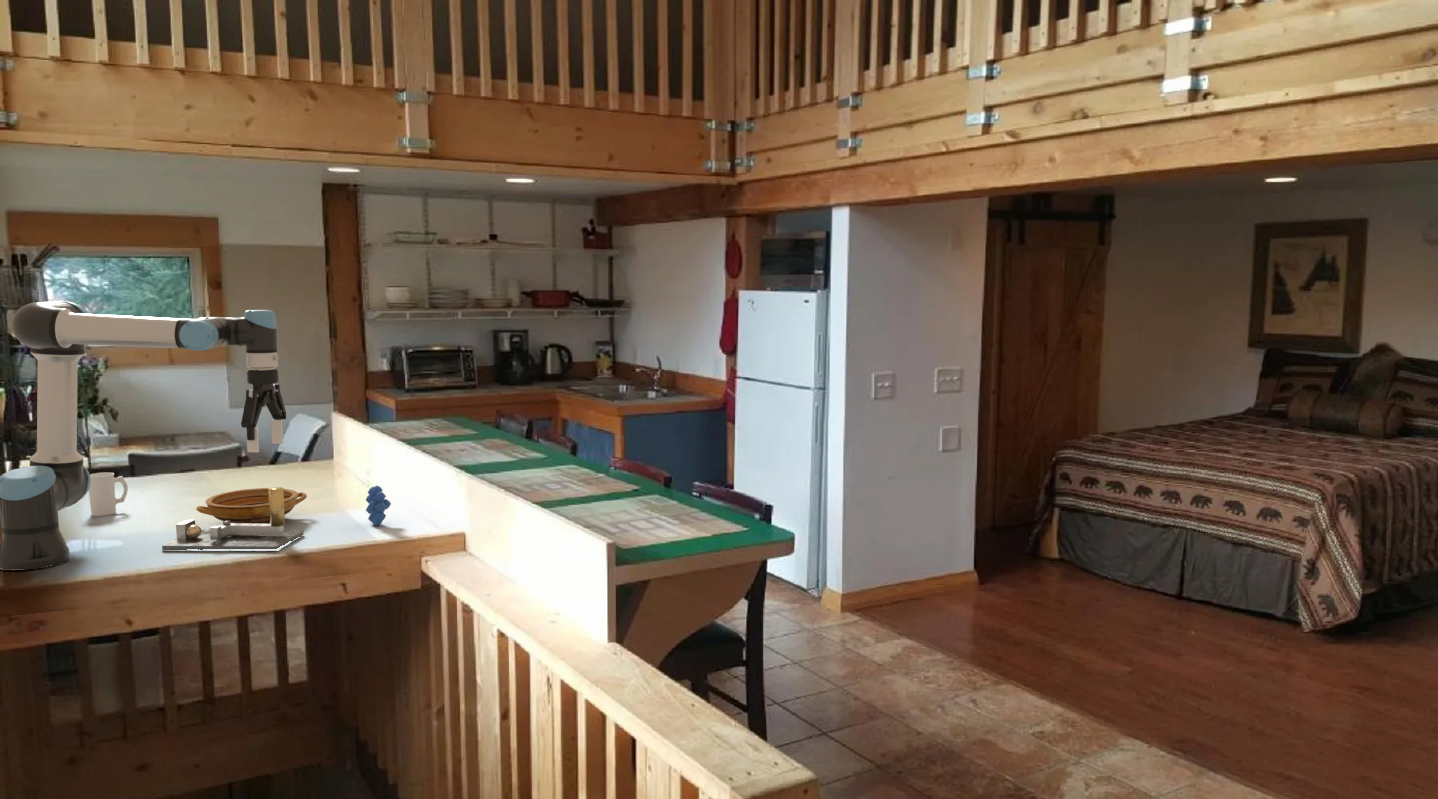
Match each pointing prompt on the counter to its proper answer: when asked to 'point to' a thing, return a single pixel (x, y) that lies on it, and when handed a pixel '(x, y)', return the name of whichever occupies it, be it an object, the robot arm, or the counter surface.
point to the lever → (256, 529)
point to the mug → (105, 493)
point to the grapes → (377, 505)
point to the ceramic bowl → (247, 505)
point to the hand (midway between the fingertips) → (265, 447)
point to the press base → (225, 539)
